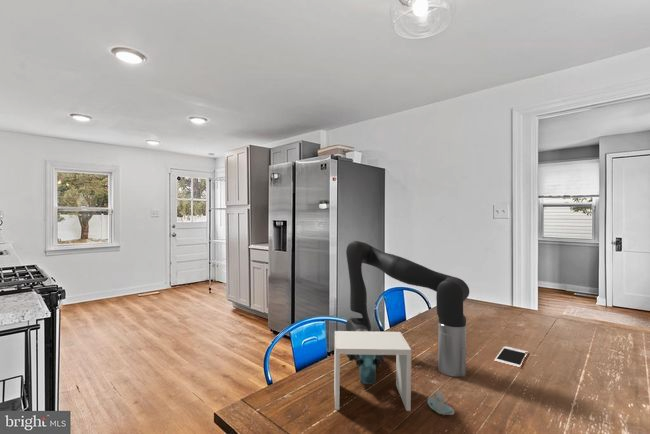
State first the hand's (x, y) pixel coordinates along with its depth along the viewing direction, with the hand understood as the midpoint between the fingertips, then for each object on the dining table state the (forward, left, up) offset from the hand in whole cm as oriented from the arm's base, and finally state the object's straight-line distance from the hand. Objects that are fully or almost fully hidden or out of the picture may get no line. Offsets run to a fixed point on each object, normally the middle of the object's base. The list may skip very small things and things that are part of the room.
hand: (368, 363), depth 102 cm
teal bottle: (+1, -2, -6) cm, 7 cm away
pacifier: (-22, +2, -9) cm, 24 cm away
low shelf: (-1, +3, -9) cm, 9 cm away
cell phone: (-46, -47, -9) cm, 67 cm away
